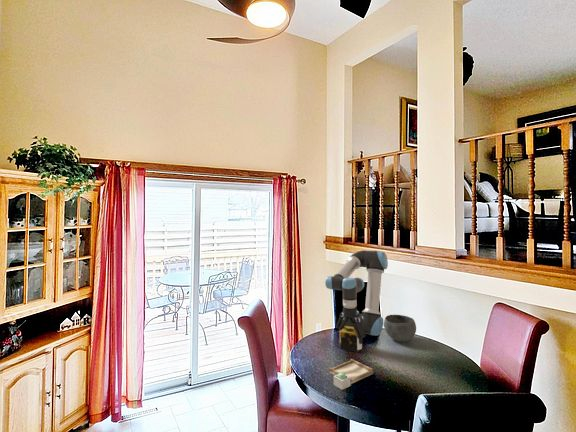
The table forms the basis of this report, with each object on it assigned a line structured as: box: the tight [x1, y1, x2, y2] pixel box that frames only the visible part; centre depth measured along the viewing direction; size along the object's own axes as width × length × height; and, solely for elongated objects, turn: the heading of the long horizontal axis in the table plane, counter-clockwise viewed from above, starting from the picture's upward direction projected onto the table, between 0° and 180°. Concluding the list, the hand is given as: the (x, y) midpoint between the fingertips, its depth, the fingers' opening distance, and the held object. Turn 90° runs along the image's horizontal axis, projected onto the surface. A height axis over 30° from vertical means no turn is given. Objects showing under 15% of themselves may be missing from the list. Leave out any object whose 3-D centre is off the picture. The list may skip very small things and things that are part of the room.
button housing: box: [333, 374, 351, 391], centre depth 164 cm, size 6×6×4 cm
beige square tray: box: [328, 358, 374, 385], centre depth 176 cm, size 16×18×2 cm
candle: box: [339, 326, 364, 353], centre depth 177 cm, size 10×10×10 cm
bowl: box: [383, 314, 417, 343], centre depth 220 cm, size 21×21×15 cm
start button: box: [338, 373, 345, 380], centre depth 164 cm, size 4×4×4 cm
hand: (350, 345), depth 176 cm, fingers closed on candle, 12 cm apart
